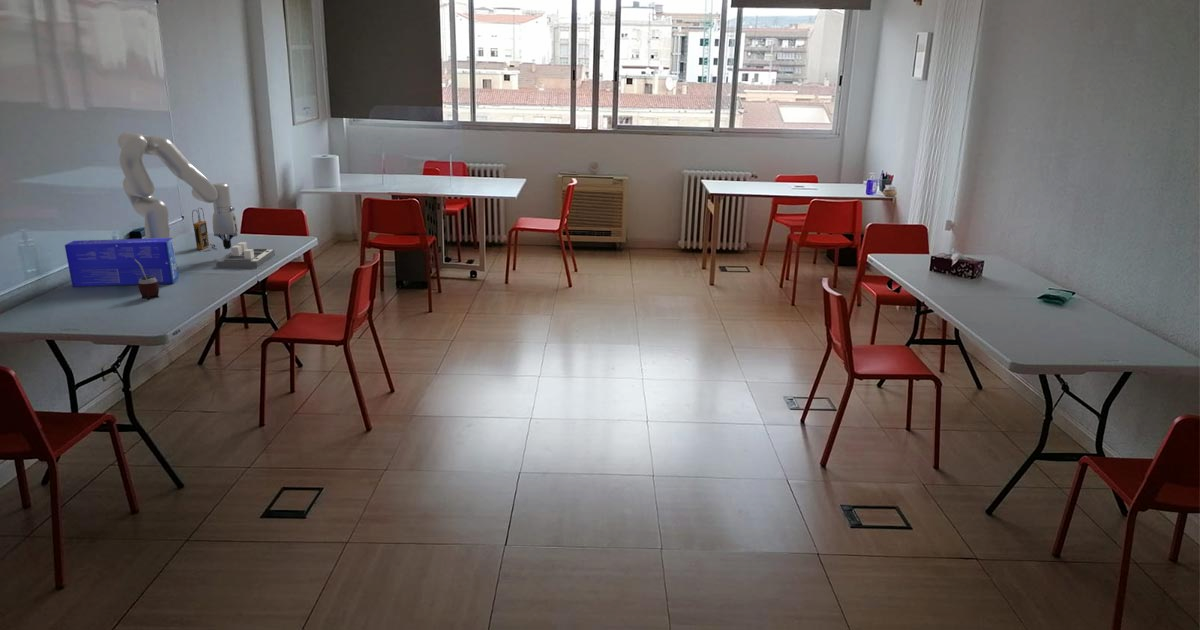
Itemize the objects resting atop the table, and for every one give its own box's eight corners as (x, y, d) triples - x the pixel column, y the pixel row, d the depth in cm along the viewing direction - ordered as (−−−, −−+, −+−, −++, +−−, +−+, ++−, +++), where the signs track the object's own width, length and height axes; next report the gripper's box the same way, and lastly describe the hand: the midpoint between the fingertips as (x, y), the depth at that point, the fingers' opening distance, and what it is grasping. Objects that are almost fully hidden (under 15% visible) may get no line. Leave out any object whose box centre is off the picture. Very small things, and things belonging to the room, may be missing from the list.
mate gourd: (158, 299, 321) (152, 262, 317) (135, 300, 319) (129, 263, 314) (162, 294, 328) (156, 258, 323) (140, 295, 326) (134, 259, 321)
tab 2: (251, 259, 371) (250, 251, 370) (244, 259, 371) (243, 251, 370) (254, 257, 375) (253, 249, 374) (247, 257, 375) (246, 249, 374)
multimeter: (213, 252, 397) (208, 211, 390) (193, 251, 397) (187, 211, 391) (227, 245, 411) (222, 206, 404) (207, 244, 411) (202, 205, 405)
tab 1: (244, 252, 384) (243, 244, 383) (238, 252, 384) (237, 243, 383) (247, 250, 388) (246, 242, 387) (241, 250, 388) (240, 242, 386)
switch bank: (257, 268, 369) (256, 260, 368) (216, 267, 369) (215, 260, 367) (274, 255, 392) (274, 248, 391) (236, 255, 391) (235, 247, 390)
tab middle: (238, 255, 377) (237, 247, 376) (232, 255, 377) (231, 247, 376) (242, 253, 381) (241, 245, 380) (235, 253, 381) (234, 245, 380)
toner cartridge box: (179, 279, 350) (173, 237, 344) (173, 284, 342) (167, 241, 336) (80, 282, 343) (72, 239, 337) (71, 287, 335) (63, 243, 329)
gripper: (242, 208, 383) (246, 246, 389) (209, 208, 383) (214, 246, 388) (236, 211, 376) (240, 250, 382) (203, 211, 375) (208, 250, 381)
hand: (227, 248), depth 385 cm, fingers closed
